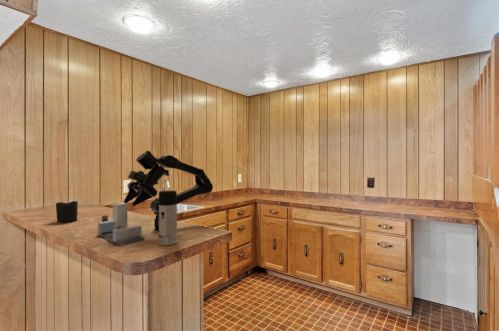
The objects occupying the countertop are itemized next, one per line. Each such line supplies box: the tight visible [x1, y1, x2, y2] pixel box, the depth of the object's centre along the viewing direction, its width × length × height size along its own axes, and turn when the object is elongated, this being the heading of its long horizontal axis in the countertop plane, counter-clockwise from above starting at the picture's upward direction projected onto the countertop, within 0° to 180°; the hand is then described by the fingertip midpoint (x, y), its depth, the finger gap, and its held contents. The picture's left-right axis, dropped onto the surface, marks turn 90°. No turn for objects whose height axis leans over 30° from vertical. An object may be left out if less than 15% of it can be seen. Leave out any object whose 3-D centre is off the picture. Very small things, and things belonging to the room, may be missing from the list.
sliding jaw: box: [97, 214, 113, 233], centre depth 119 cm, size 11×10×5 cm
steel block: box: [112, 201, 129, 230], centre depth 110 cm, size 4×5×13 cm
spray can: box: [158, 190, 178, 247], centre depth 102 cm, size 7×7×20 cm
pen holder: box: [55, 200, 79, 224], centre depth 140 cm, size 9×9×10 cm
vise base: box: [97, 224, 145, 247], centre depth 110 cm, size 22×10×5 cm, turn 47°
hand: (128, 204), depth 112 cm, fingers open, 9 cm apart
